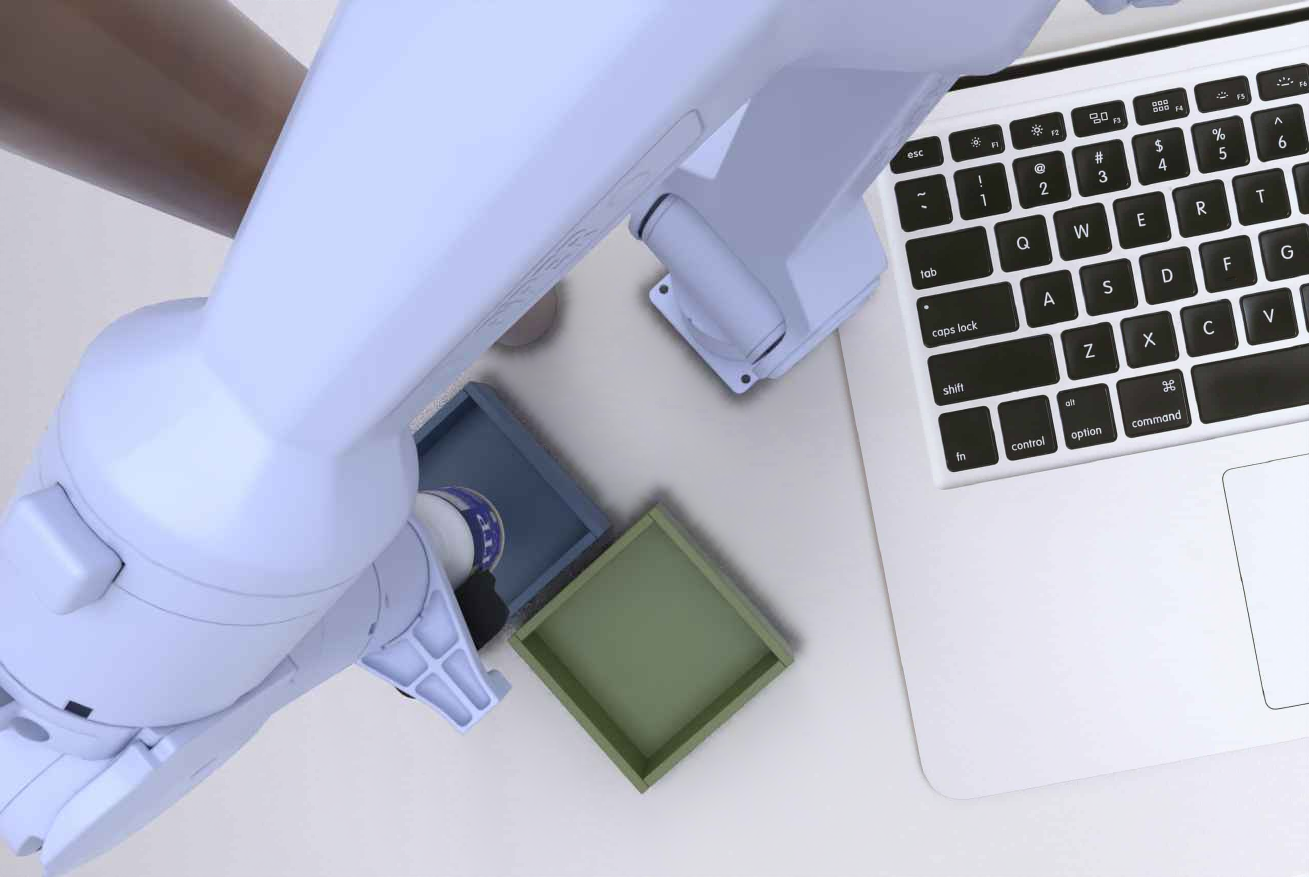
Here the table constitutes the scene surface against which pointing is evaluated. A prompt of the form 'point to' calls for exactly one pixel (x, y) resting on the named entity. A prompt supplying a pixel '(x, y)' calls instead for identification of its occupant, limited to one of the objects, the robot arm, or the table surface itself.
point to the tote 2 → (652, 647)
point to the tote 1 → (510, 489)
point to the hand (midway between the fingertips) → (437, 542)
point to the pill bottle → (461, 530)
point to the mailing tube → (158, 106)
